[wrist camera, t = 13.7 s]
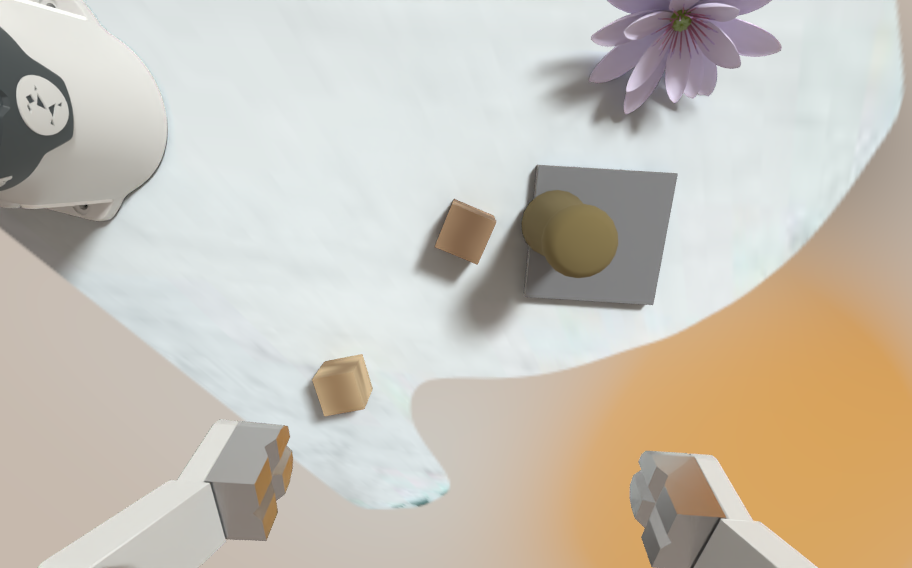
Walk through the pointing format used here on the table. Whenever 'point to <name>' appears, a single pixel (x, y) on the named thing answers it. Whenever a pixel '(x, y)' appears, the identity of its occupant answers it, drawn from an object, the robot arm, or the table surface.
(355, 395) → the oak block
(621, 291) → the coaster
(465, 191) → the table surface
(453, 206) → the walnut block
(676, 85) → the water lily
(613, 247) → the cork
